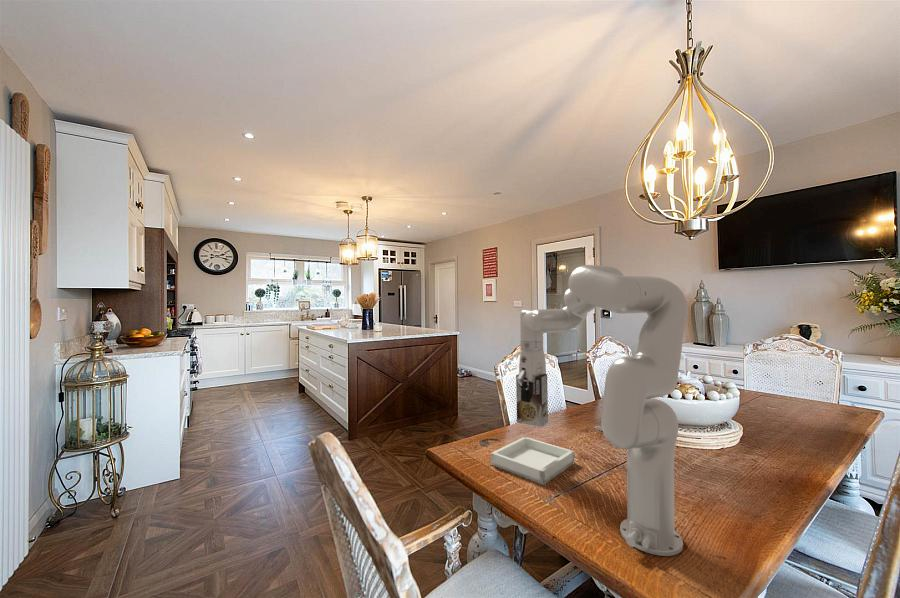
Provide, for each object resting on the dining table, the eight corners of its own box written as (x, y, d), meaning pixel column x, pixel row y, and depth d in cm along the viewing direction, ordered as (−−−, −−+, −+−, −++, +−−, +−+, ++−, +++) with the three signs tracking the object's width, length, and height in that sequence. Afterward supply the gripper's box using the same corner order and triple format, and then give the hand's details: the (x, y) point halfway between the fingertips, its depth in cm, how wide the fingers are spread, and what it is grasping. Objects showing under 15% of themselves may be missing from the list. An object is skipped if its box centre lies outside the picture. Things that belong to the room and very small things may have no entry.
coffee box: (548, 421, 123) (548, 373, 123) (542, 427, 118) (542, 377, 118) (522, 417, 128) (522, 371, 128) (515, 422, 122) (515, 374, 123)
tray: (543, 485, 108) (542, 471, 109) (491, 465, 122) (490, 453, 122) (574, 463, 123) (574, 451, 123) (524, 447, 137) (524, 436, 137)
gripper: (527, 349, 114) (527, 406, 114) (554, 344, 127) (555, 396, 126) (507, 347, 119) (507, 402, 119) (535, 343, 132) (536, 392, 132)
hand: (532, 398), depth 123 cm, fingers closed on coffee box, 7 cm apart
